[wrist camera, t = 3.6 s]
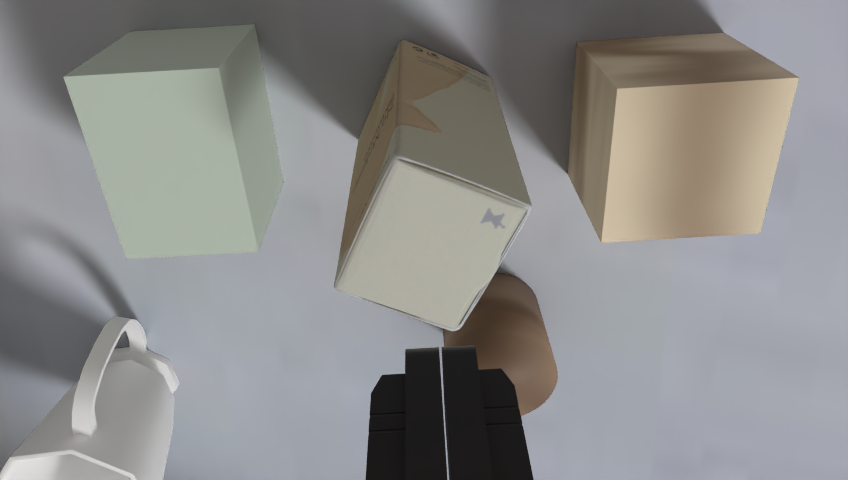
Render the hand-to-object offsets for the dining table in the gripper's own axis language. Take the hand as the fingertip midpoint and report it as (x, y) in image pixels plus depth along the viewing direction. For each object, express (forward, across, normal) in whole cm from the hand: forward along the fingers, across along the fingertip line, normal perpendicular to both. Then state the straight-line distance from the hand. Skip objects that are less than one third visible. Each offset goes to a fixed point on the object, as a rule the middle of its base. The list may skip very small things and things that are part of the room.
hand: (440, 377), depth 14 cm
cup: (+16, +16, +13) cm, 26 cm away
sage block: (+16, +9, 0) cm, 19 cm away
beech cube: (+16, -9, 0) cm, 19 cm away
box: (+16, 0, 0) cm, 17 cm away
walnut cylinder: (+16, -3, +11) cm, 20 cm away
